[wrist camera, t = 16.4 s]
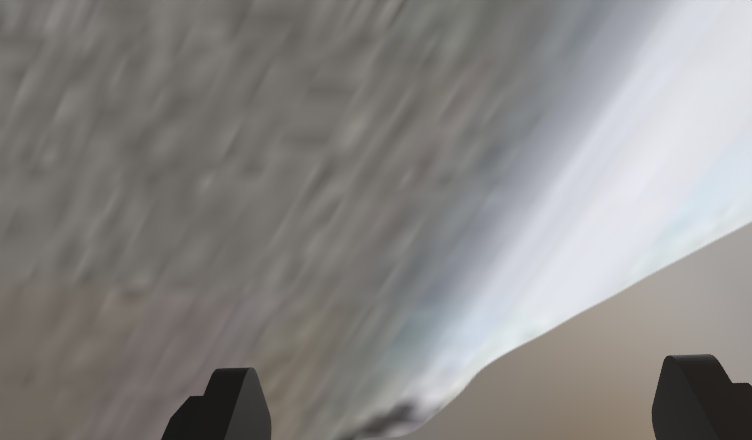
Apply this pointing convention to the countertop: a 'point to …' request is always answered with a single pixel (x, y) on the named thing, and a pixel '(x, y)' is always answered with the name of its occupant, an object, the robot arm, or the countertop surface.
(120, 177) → the countertop surface
